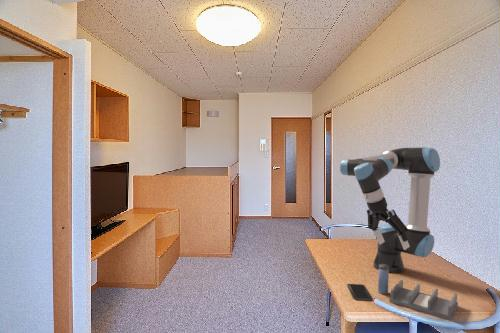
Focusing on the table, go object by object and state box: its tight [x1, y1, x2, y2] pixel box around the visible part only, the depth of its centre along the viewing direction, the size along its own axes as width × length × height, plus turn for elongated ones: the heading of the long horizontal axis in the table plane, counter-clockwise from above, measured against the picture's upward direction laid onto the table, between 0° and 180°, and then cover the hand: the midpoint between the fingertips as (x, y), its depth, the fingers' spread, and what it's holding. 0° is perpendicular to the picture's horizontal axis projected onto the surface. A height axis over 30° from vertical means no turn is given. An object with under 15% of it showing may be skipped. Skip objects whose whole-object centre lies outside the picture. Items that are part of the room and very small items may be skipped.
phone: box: [347, 283, 374, 302], centre depth 141 cm, size 8×1×15 cm
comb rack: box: [389, 279, 459, 321], centre depth 131 cm, size 15×22×5 cm
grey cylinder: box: [377, 264, 390, 295], centre depth 141 cm, size 4×4×12 cm
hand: (393, 245), depth 134 cm, fingers open, 13 cm apart
